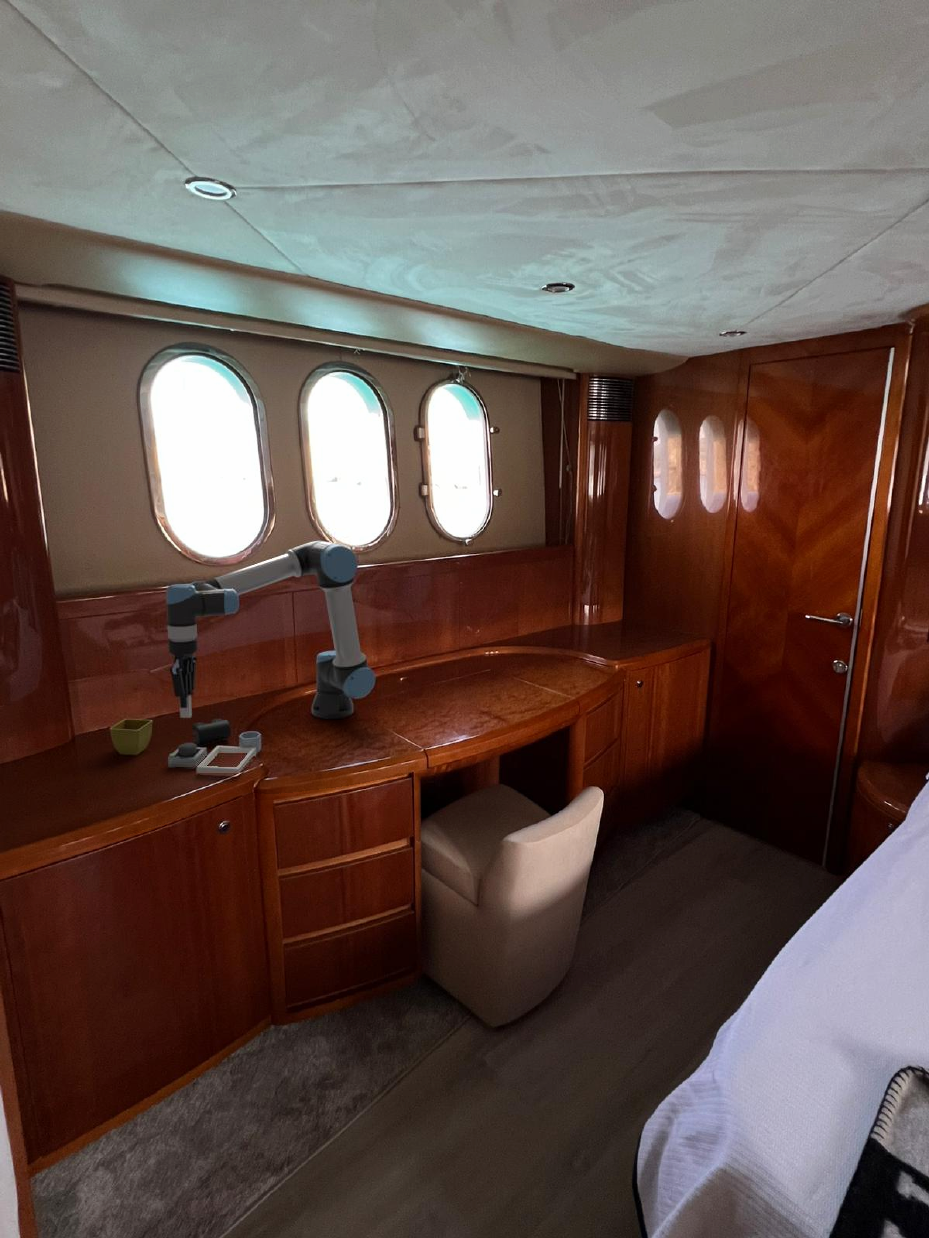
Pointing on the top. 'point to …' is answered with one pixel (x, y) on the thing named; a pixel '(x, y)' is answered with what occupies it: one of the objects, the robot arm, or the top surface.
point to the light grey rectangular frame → (226, 749)
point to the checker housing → (186, 759)
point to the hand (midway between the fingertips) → (186, 716)
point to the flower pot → (131, 735)
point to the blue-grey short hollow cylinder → (250, 740)
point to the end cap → (211, 731)
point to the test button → (187, 750)
